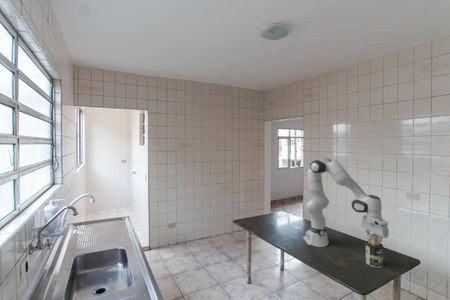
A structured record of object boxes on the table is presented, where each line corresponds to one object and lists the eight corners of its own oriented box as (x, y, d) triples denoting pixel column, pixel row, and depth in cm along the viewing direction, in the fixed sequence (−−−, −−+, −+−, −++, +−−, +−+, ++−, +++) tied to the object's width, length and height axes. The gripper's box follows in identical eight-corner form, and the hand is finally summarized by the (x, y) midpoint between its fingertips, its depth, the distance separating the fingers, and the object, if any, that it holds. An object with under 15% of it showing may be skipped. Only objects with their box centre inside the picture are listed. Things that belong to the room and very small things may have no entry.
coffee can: (386, 265, 162) (386, 245, 161) (376, 269, 158) (376, 248, 157) (372, 258, 171) (371, 239, 171) (362, 262, 167) (362, 242, 167)
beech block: (368, 242, 166) (368, 234, 166) (374, 242, 167) (374, 233, 167) (373, 245, 161) (373, 237, 161) (380, 245, 162) (380, 236, 162)
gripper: (358, 214, 173) (359, 233, 174) (382, 224, 153) (382, 245, 153) (366, 214, 174) (366, 232, 175) (390, 223, 154) (390, 244, 154)
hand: (374, 238), depth 164 cm, fingers open, 8 cm apart
